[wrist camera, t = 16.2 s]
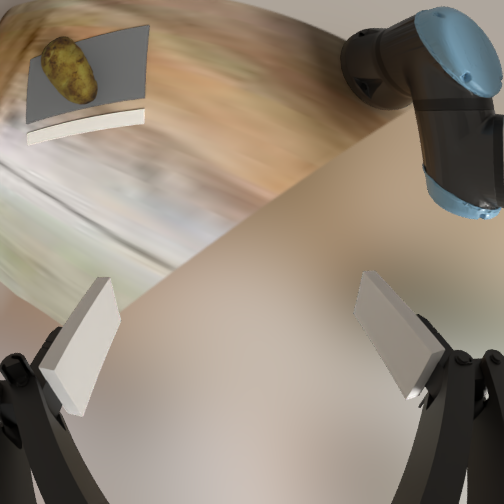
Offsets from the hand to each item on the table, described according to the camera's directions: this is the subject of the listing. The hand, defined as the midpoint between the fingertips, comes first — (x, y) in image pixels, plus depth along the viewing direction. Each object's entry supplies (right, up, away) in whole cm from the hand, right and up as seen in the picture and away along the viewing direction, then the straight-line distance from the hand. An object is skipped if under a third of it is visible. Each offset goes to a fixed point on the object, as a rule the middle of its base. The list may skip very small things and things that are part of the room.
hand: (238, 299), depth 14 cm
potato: (-27, +31, +18) cm, 45 cm away
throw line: (-28, +23, +22) cm, 42 cm away
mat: (-27, +31, +18) cm, 46 cm away
